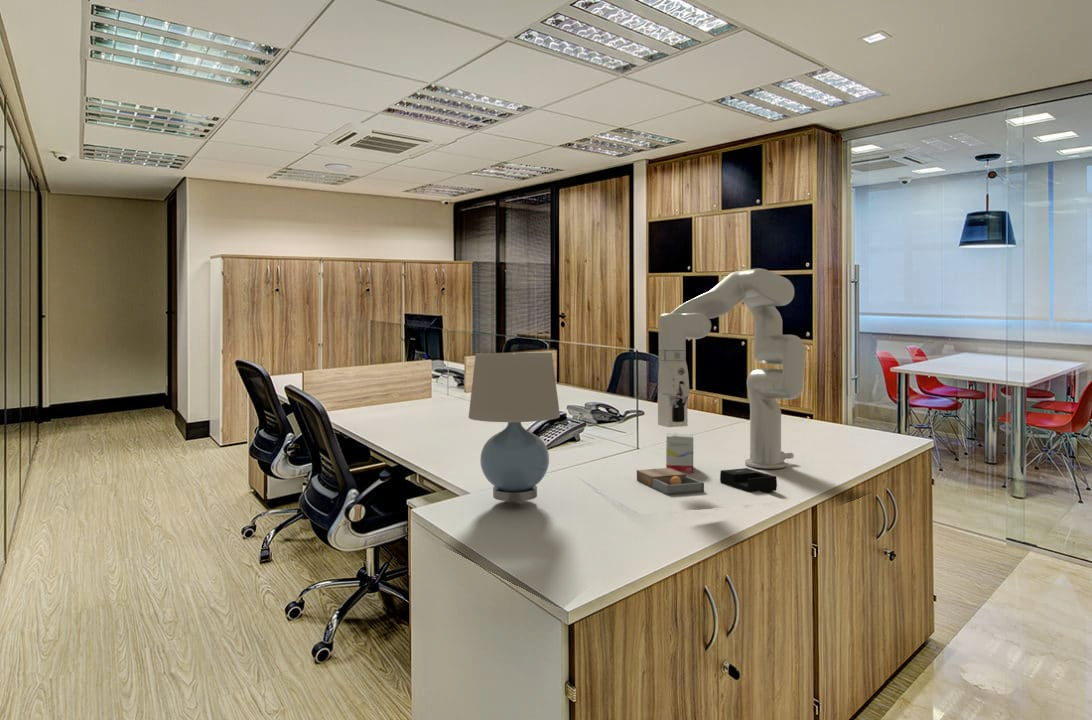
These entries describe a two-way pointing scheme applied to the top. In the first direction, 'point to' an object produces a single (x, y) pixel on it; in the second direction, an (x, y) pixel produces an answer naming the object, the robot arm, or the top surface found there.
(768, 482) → the battery charger
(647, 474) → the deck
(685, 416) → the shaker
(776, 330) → the robot arm
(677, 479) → the ball
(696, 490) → the tray
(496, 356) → the lamp
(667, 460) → the ink box
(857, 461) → the top surface
